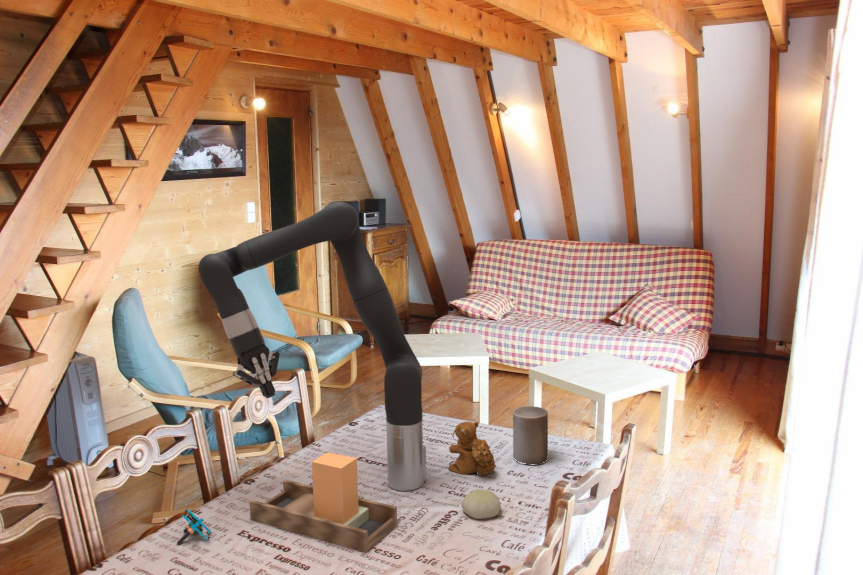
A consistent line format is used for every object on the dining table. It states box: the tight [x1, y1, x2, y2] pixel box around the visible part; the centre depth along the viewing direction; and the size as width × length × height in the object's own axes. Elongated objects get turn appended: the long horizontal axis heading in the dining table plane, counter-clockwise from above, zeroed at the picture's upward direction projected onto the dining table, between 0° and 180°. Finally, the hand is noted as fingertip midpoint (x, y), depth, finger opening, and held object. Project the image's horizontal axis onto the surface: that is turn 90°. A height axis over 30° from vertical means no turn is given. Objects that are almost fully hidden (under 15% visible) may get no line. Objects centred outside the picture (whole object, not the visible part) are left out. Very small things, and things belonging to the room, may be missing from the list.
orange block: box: [311, 451, 359, 524], centre depth 158 cm, size 8×6×13 cm
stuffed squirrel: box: [447, 421, 497, 476], centre depth 187 cm, size 10×14×13 cm
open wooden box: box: [249, 479, 398, 554], centre depth 161 cm, size 32×13×4 cm, turn 62°
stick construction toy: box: [176, 508, 212, 546], centre depth 156 cm, size 12×7×8 cm
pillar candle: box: [512, 405, 549, 465], centre depth 194 cm, size 10×10×15 cm
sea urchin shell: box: [461, 489, 502, 520], centre depth 165 cm, size 9×8×8 cm
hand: (270, 396), depth 170 cm, fingers closed
